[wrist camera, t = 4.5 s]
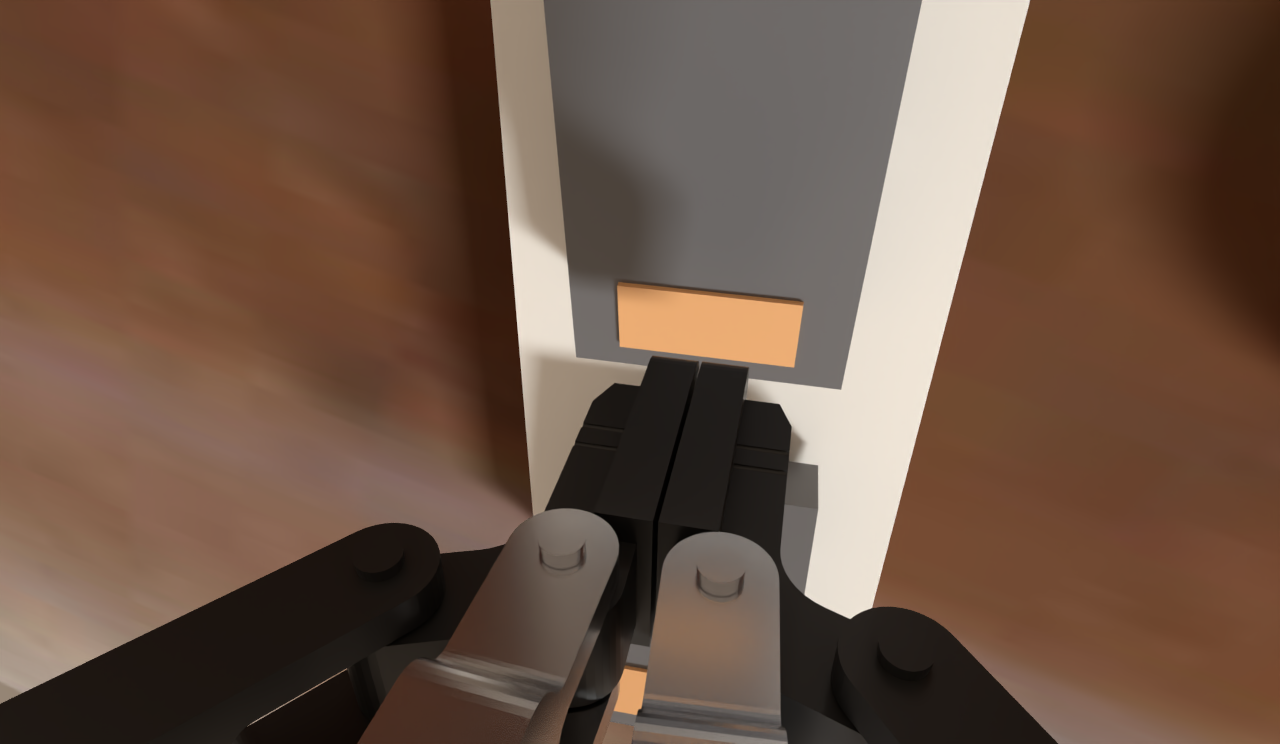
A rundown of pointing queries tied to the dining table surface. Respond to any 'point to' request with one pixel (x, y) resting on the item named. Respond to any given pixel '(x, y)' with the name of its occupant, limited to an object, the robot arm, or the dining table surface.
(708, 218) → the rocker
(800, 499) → the block
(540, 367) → the power strip
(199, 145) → the dining table surface
